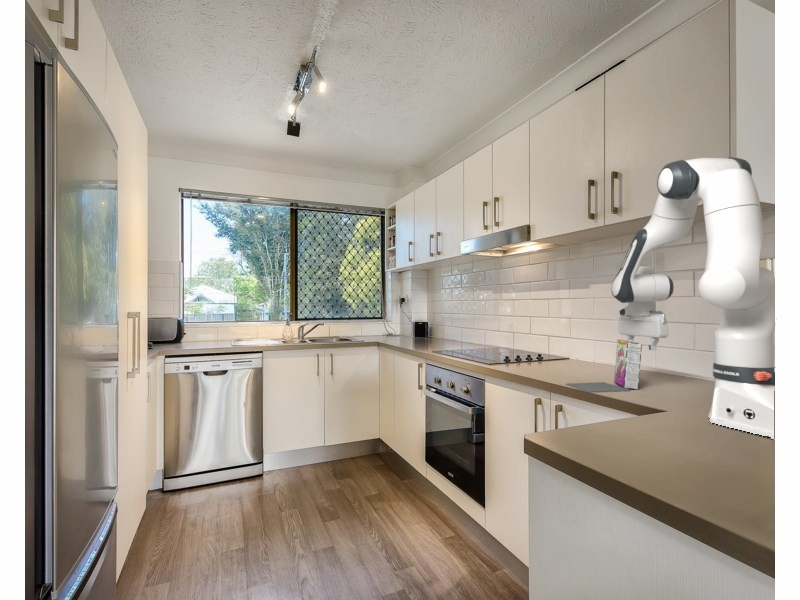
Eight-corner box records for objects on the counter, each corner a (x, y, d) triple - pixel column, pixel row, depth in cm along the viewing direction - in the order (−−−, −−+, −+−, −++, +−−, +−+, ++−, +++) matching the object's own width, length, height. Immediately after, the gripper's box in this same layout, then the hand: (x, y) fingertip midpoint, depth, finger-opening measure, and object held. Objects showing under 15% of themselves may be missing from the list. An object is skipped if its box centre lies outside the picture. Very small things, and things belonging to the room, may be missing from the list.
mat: (630, 390, 135) (630, 389, 135) (589, 392, 133) (589, 391, 133) (603, 383, 149) (603, 382, 149) (565, 384, 146) (565, 383, 146)
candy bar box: (612, 382, 148) (616, 338, 149) (627, 384, 147) (631, 340, 147) (623, 388, 138) (627, 341, 138) (638, 390, 136) (643, 342, 137)
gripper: (673, 310, 134) (673, 351, 134) (629, 310, 155) (630, 346, 154) (656, 311, 133) (657, 351, 133) (615, 310, 154) (615, 346, 153)
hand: (642, 348), depth 144 cm, fingers open, 8 cm apart
